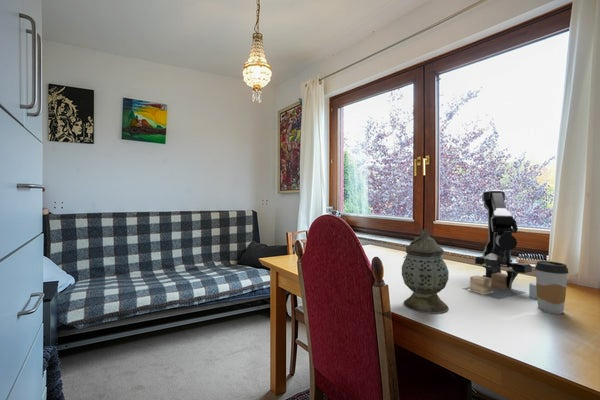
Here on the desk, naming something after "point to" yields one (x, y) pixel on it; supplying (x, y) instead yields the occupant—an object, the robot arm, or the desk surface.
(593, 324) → the desk surface
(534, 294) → the block
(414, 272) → the lantern
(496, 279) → the walnut block
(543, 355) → the desk surface
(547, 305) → the coffee cup
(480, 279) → the oak block
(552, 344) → the desk surface
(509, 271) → the robot arm
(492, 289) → the build mat
